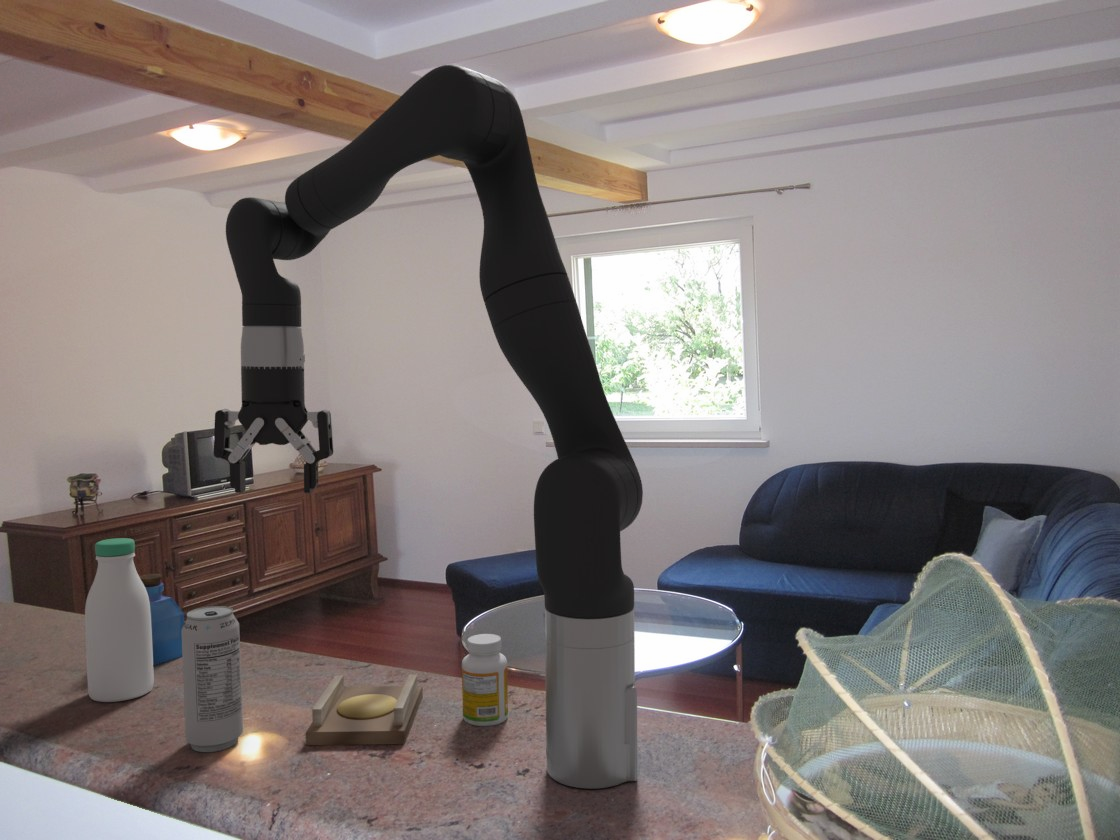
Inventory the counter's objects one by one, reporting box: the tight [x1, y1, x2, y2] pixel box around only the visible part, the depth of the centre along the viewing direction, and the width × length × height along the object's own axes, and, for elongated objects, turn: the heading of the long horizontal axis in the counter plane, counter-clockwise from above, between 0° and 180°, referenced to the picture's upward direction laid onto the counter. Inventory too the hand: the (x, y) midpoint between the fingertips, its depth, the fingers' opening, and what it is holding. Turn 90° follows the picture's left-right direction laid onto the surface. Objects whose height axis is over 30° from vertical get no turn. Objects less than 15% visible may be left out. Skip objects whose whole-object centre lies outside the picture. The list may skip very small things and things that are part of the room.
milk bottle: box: [84, 537, 155, 703], centre depth 118 cm, size 8×8×20 cm
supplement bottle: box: [461, 633, 509, 727], centre depth 109 cm, size 5×5×10 cm
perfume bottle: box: [139, 573, 185, 666], centre depth 132 cm, size 6×6×12 cm
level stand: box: [305, 673, 424, 746], centre depth 109 cm, size 11×14×4 cm
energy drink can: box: [181, 605, 244, 753], centre depth 102 cm, size 6×6×15 cm
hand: (274, 492), depth 115 cm, fingers open, 8 cm apart
